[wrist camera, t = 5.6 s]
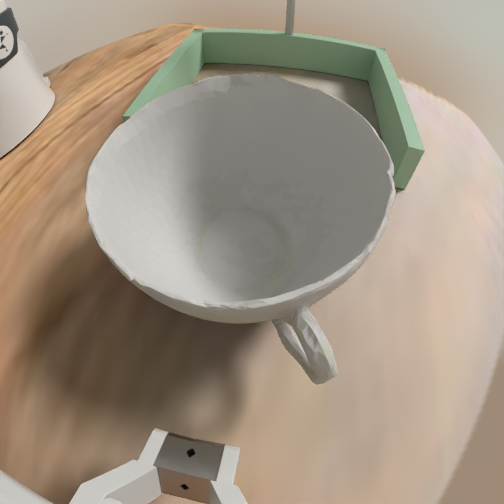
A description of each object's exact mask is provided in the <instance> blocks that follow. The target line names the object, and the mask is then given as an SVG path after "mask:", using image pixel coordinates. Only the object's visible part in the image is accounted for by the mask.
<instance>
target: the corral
mask: <svg viewBox="0 0 504 504" xmlns="http://www.w3.org/2000/svg"><path fill="white" fill-rule="evenodd" d="M294 13H295V0H287V12H286V28H285V32H282V31H270V30H252V29H195V30H194V31H193V32H192V33H191V34H190V35H189V36H188V37H187V38H186V39H185V40H184V41H183V42H182V43H181V45H180V46H179V47H178V48H177V49H176V50H175V51H174V52H173V53H172V55H171V56H170V57H169V58H168V59H167V60H166V62H165V63H164V64H163V65H162V66H161V67H160V69H159V70H158V71H157V72H156V73H155V75H154V76H153V77H152V78H151V80H150V81H149V82H148V83H147V85H146V86H145V87H144V88H143V90H142V91H141V92H140V94H139V95H138V96H137V98H136V99H135V100H134V102H133V103H132V104H131V106H130V107H129V108H128V110H127V111H126V113H125V114H124V115H123V118H124V121H125V122H126V121H127V120H128V119H129V118H130V117H131V116H132V115H133V114H134V113H135V112H136V111H137V110H139V109H141V108H142V107H143V106H145V105H146V104H148V103H149V102H151V101H152V100H154V99H157V98H159V97H161V96H163V95H165V94H166V93H168V92H170V91H172V90H175V89H178V88H180V87H183V86H186V85H189V84H192V82H193V81H194V79H195V78H196V76H197V75H198V73H199V72H200V70H201V68H202V67H203V65H204V64H205V63H233V64H252V65H266V66H277V67H286V68H295V69H303V70H310V71H317V72H324V73H330V74H335V75H341V76H346V77H351V78H356V79H361V80H366V81H368V82H369V86H370V90H371V93H372V97H373V101H374V105H375V110H376V114H377V118H378V123H379V127H380V132H381V137H382V142H383V143H384V145H385V147H386V149H387V151H388V153H389V155H390V157H391V160H392V162H393V165H394V175H393V181H394V183H395V184H394V187H396V188H400V189H405V188H406V186H407V184H408V182H409V180H410V179H411V177H412V175H413V173H414V171H415V169H416V167H417V165H418V163H419V161H420V159H421V157H422V155H423V153H424V151H425V150H424V147H423V144H422V141H421V138H420V135H419V132H418V129H417V126H416V123H415V120H414V118H413V115H412V112H411V110H410V107H409V104H408V102H407V99H406V97H405V94H404V92H403V89H402V87H401V84H400V82H399V80H398V77H397V75H396V73H395V71H394V68H393V66H392V64H391V62H390V60H389V58H388V56H387V53H386V51H385V50H384V49H382V48H378V47H373V46H369V45H365V44H360V43H355V42H350V41H345V40H340V39H335V38H329V37H322V36H316V35H308V34H300V33H293V27H294Z"/></svg>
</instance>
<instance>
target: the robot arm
mask: <svg viewBox="0 0 504 504" xmlns="http://www.w3.org/2000/svg"><path fill="white" fill-rule="evenodd" d="M18 30H19V29H18V26H17V23H16V18H15V15H13V12H12V10H11V8H7V6H6V3H5V0H0V158H1V157H2V156H3V155H5V154H6V153H7V152H9V151H10V150H11V149H13V148H14V147H15V146H16V145H18V144H19V143H20V142H21V141H22V140H23V139H24V138H26V137H27V136H28V135H29V134H30V133H31V132H32V131H33V130H34V129H35V128H36V127H37V126H38V125H39V123H40V122H41V121H42V120H43V119H44V118H45V116H46V115H47V114H48V112H49V111H50V109H51V107H52V106H53V103H54V101H55V94H54V92H53V91H52V90H51V89H50V81H49V79H48V77H43V75H42V74H41V72H40V70H39V68H38V66H37V64H36V62H35V60H34V59H33V57H32V55H31V53H30V51H29V49H28V47H27V45H26V44H25V42H23V41H21V40H20V39H19V38H18V36H17V32H18ZM239 453H240V447H235V446H229V445H225V444H220V443H215V442H209V441H204V440H199V439H193V438H189V437H185V436H181V435H178V434H174V433H170V432H167V431H163V430H160V429H156V428H155V429H154V430H153V431H152V433H151V435H150V437H149V439H148V440H147V442H146V444H145V446H144V448H143V450H142V452H141V454H140V456H139V458H138V460H131V461H129V462H127V463H125V464H123V465H121V466H119V467H117V468H115V469H113V470H111V471H109V472H107V473H105V474H102V475H100V476H98V477H96V478H94V479H91V480H89V481H87V482H85V483H82V484H81V485H80V487H79V489H78V490H77V492H76V493H75V495H74V497H73V498H72V500H71V501H70V503H69V504H148V503H150V502H151V501H153V500H154V499H155V498H157V497H158V496H160V495H161V494H162V493H165V494H169V495H173V496H177V497H181V498H186V499H189V500H193V501H197V502H201V503H206V504H248V503H247V501H246V500H245V498H244V496H243V494H242V493H241V491H240V489H239V487H238V485H234V482H235V477H236V471H237V465H238V459H239ZM0 504H54V503H52V502H50V501H48V500H47V499H45V498H43V497H42V496H40V495H38V494H37V493H35V492H33V491H32V490H30V489H29V488H27V487H26V486H24V485H22V484H21V483H19V482H18V481H16V480H15V479H14V478H12V477H11V476H9V475H8V474H6V473H5V472H4V471H2V470H1V469H0Z"/></svg>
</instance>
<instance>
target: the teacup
mask: <svg viewBox="0 0 504 504" xmlns="http://www.w3.org/2000/svg"><path fill="white" fill-rule="evenodd" d="M393 175H394V165H393V162H392V160H391V157H390V155H389V153H388V151H387V149H386V147H385V145H384V143H383V142H382V140H381V139H380V138H379V136H378V134H377V132H376V131H375V129H374V128H373V127H372V126H371V124H370V123H369V122H368V121H367V120H366V119H365V118H364V117H363V116H362V115H361V114H359V113H358V112H357V111H356V110H355V109H353V108H352V107H351V106H349V105H348V104H347V103H345V102H344V101H343V100H340V99H338V98H336V97H334V96H332V95H330V94H328V93H327V92H325V91H323V90H321V89H318V88H314V87H309V86H305V85H303V84H300V83H297V82H292V81H289V80H286V79H284V78H282V77H280V76H277V75H264V76H260V77H258V76H255V75H252V74H249V73H247V74H231V75H228V76H219V75H218V76H213V77H208V78H205V79H203V80H201V81H198V82H195V83H192V84H189V85H186V86H183V87H180V88H178V89H175V90H172V91H170V92H168V93H166V94H165V95H163V96H161V97H159V98H157V99H154V100H152V101H151V102H149V103H148V104H146V105H145V106H143V107H142V108H141V109H139V110H137V111H136V112H135V113H134V114H133V115H132V116H131V117H130V118H129V119H128V120H127V121H126V122H124V123H123V124H121V125H119V126H118V127H117V128H116V129H115V130H114V132H113V133H112V134H111V135H110V137H109V138H108V139H107V141H106V142H105V143H104V145H103V146H102V147H101V149H100V150H99V152H98V153H97V155H96V156H95V158H94V160H93V162H92V163H91V165H90V168H89V171H88V175H87V182H86V187H85V203H86V209H87V214H88V222H89V224H90V226H91V228H92V231H93V234H94V236H95V238H96V240H97V242H98V244H99V246H100V248H101V249H102V250H103V252H104V253H105V254H106V256H107V257H108V258H109V260H110V261H111V263H112V264H113V265H114V266H115V267H116V268H117V269H118V270H119V271H120V272H121V273H122V275H123V276H124V277H125V278H127V279H128V280H129V281H130V282H131V283H133V284H134V285H135V286H136V287H138V288H139V289H140V290H142V291H143V292H145V293H146V294H148V295H149V296H151V297H152V298H154V299H155V300H157V301H159V302H161V303H163V304H164V305H166V306H169V307H171V308H173V309H175V310H177V311H179V312H182V313H185V314H187V315H190V316H193V317H196V318H200V319H204V320H209V321H214V322H221V323H239V324H243V323H256V322H263V321H267V320H272V322H273V324H274V325H275V327H276V329H277V331H278V335H279V337H280V339H281V342H282V343H283V345H284V347H285V348H286V350H287V351H288V352H289V353H290V354H291V355H292V356H293V357H294V358H295V359H296V360H297V362H298V363H299V364H300V365H301V367H302V368H303V369H304V371H305V372H306V373H307V375H308V376H309V378H310V379H311V381H312V382H313V383H315V384H323V383H325V382H327V381H328V380H330V379H331V378H333V377H334V376H336V374H337V366H336V362H335V359H334V355H333V351H332V348H331V346H330V344H329V342H328V340H327V338H326V336H325V335H324V333H323V331H322V330H321V328H320V326H319V325H318V323H317V321H316V320H315V318H314V317H313V316H312V314H311V313H310V312H309V307H311V306H312V305H313V304H314V303H316V302H317V301H319V300H320V299H322V298H323V297H325V296H326V295H328V294H329V293H331V292H332V291H333V290H335V289H336V288H338V287H339V286H340V285H342V284H343V283H344V282H346V281H347V280H348V279H349V278H350V277H351V276H352V275H353V274H354V273H355V272H356V271H357V270H358V269H359V268H360V267H361V266H362V264H363V263H364V262H365V261H366V259H367V258H368V257H369V255H370V254H371V252H372V251H373V249H374V248H375V246H376V244H377V243H378V241H379V239H380V237H381V236H382V234H383V232H384V230H385V228H386V225H387V223H388V220H389V215H390V211H391V207H392V205H393V201H394V198H395V194H396V191H395V187H394V184H395V183H394V181H393ZM289 324H290V325H291V326H292V327H293V329H294V330H295V332H296V334H297V336H298V337H297V336H296V334H295V333H294V331H293V330H292V328H291V327H290V325H289Z"/></svg>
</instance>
